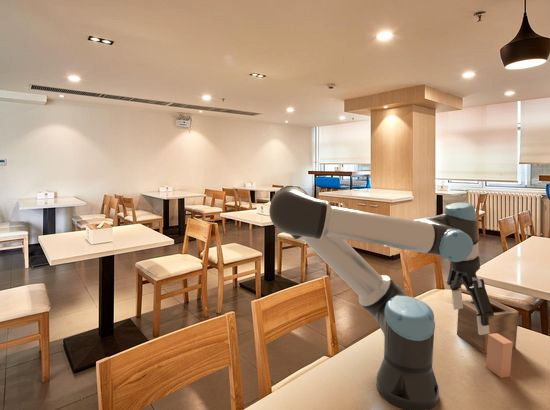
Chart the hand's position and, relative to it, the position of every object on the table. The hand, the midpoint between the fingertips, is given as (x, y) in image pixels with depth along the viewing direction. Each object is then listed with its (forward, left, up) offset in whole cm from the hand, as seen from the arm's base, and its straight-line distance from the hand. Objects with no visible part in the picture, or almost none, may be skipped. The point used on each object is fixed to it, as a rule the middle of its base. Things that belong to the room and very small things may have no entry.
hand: (470, 320), depth 100 cm
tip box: (+11, +5, -11) cm, 16 cm away
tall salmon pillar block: (+2, -9, -11) cm, 14 cm away
